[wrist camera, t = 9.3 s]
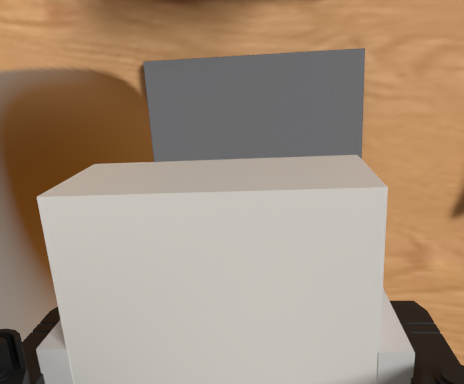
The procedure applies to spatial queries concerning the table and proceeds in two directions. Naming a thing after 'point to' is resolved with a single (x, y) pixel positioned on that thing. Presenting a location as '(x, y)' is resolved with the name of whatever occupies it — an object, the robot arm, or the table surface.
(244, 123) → the rubber mat
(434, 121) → the table surface
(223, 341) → the card box
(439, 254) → the table surface
